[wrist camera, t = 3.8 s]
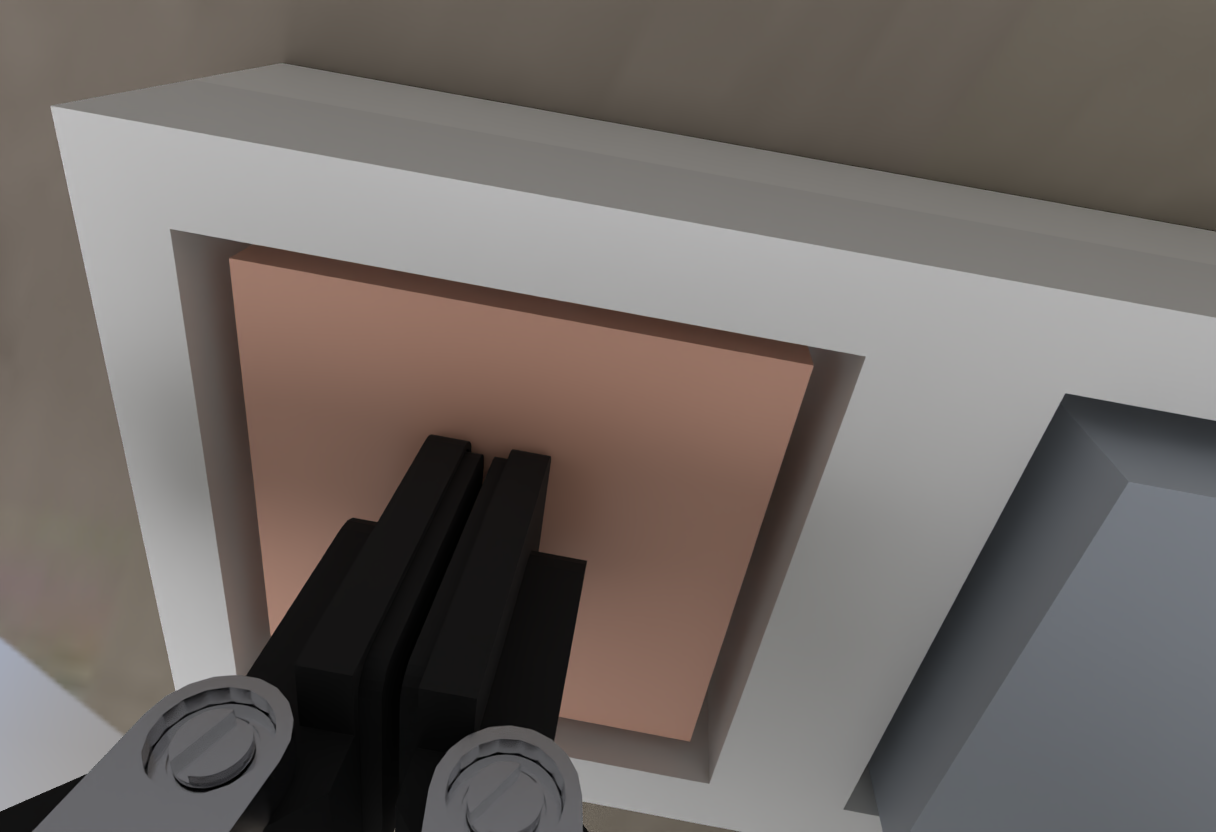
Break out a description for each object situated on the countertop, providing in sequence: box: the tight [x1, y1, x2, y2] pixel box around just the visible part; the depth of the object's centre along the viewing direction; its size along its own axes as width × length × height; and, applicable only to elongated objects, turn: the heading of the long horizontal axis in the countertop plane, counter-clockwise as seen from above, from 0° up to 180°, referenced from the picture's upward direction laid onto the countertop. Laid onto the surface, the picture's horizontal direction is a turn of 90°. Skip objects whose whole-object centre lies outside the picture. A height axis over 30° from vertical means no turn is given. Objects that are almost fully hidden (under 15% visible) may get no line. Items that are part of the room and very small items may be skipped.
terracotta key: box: [229, 244, 814, 742], centre depth 11 cm, size 7×7×2 cm
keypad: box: [51, 63, 1216, 832], centre depth 12 cm, size 30×10×5 cm, turn 81°
